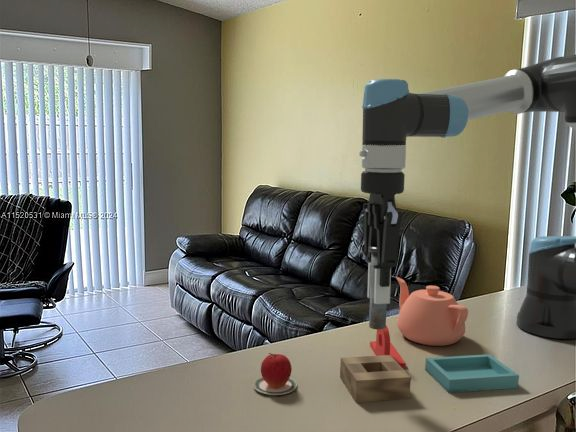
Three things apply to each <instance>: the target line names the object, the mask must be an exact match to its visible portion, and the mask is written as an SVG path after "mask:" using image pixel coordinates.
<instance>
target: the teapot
mask: <svg viewBox="0 0 576 432" xmlns="http://www.w3.org/2000/svg"><path fill="white" fill-rule="evenodd" d="M395 279H396V280H397V282H398V284H399V287H400V292H399V299H398V301H399V303H398V304H399V305H398V306H399V313H398V316H397V321H396V325H397V328H398V329H399V331H400V333H401V334H402V335H403V337H405V338H406V339H408V340H409V341H411V342H413V343H418V344H421V345H426V346H433V347H443V346H449V345H453V344H455V343H458V341H460V339H462V337H464V335H465V333H466V321H467V319H468V316H469V310H468V308H467V307H466V306H465V305H459V303H458V302H457V300H456V298H455V296H454V295H452V294H451V293H448V292H447V291H442V290H441V289H440V287H439V286H437V285H426V286H425V289H418V290H415V291H414V290H413V291H412V292H411V293H410V292H409V287H408V285H407V284H408V283H407V282H406V281H405V280H404V279H403V278H401V277H398V276H396V278H395Z"/></svg>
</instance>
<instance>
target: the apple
mask: <svg viewBox="0 0 576 432" xmlns="http://www.w3.org/2000/svg"><path fill="white" fill-rule="evenodd" d="M292 370H293V369H292V365H291V361H290V360H289V358H288V357H287V356H286V355H284V354H280V353H270V352H269V353H268V355H267V356H265V358H264V359H263V360H262V361H261V364H260V373H261V377H258V378H257V379H255V380H254V381H253V388H254V389H255V391H257V392H259V393H261V394H265V395H269V396H279V395H280V396H282V395H286V394H290V393H291V392H293V391H295V390H296V389H297V386H298V385H297V382H296V380H295V379H293V378H291V375H292Z"/></svg>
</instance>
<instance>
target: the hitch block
mask: <svg viewBox="0 0 576 432" xmlns="http://www.w3.org/2000/svg"><path fill="white" fill-rule="evenodd" d="M339 364H340V367H339V370H340V371H339V379H340V380H341V381H342V384H343V385H344V386H345V388H346V389H347V392H349V394H350V395H351V397H352V399H353V401H354V402H355V403H365V402H377V401H392V400H403V399H404V400H405V399H407V400H409V399H410V398H411V397H410V396H411V381H412V380H411V376H410V374H408V373H407V372H406V370H405V368H402V367H401V366H400V365H399V364H398V363H397V362H396V361H395V360H394V359H393V358H392V356H391V355H381V356H376V355H368V356H363V355H362V356H351V357H350V356H347V357H340V363H339Z"/></svg>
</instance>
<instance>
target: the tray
mask: <svg viewBox="0 0 576 432" xmlns="http://www.w3.org/2000/svg"><path fill="white" fill-rule="evenodd" d="M424 366H425V367H424V369H425V371H426V372H427V374H429V375H430V377H432V378H433V379H434V380H435V381H436V382H437V383H438V384H439V385H440V386H441V387H442V388H443V389H444V390H445V391H446V392H447V393H448V394H449V393H465V392H466V393H467V392H478V391H479V392H480V391H490V390H491V391H492V390H495V391H496V390H507V389H518V388H519V380H520V379H519V378H520V375H519V374H518V373H516V372H515V371H514V370H512V369H511V368H510V367H508V366H507V365H505V364H504V363H503V362H501V361H500V360H498V359H497V357H496V358H495V357H494V356H493V355H492V354H472V355H471V354H470V355H456V356H455V355H454V356H437V357H436V356H435V357H425V364H424Z"/></svg>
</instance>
